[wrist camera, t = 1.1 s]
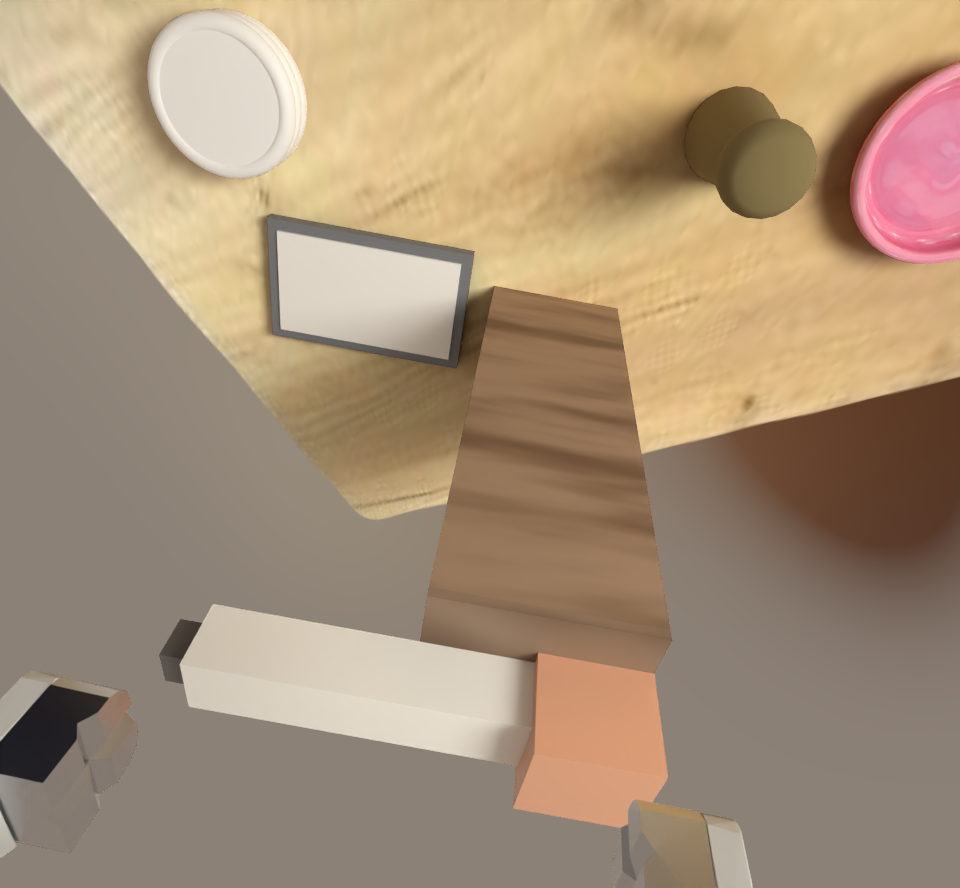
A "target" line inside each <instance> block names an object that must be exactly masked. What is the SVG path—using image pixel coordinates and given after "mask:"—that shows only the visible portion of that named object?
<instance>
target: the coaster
mask: <svg viewBox="0 0 960 888" xmlns="http://www.w3.org/2000/svg"><path fill="white" fill-rule="evenodd" d="M147 82H148V90H149V95H150V99H151V103H152V106H153V108H154V111H155V114H156V116H157V118H158V120H159V122H160V125H161V126H162V128H163V130H164V131H165V133H166V135H167V136H168V137H169V139H170V140H171V141H172V143H173V144H174V145H175V146H176V147H177V148H178V149H179V151H180V152H181V153H182V154H184V155H185V156H186V157H187V158H188V159H189V160H190V161H192V162H193V163H195V164H196V165H197V166H199V167H201V168H202V169H204V170H206V171H208V172H210V173H213V174H215V175H219V176H222V177H226V178H233V179H246V178H253V177H257V176H260V175H263V174H265V173H267V172H269V171H270V170H272V169H273V168H275V167H276V166H278V165H279V164H281V163H282V162H284V161H285V160H286V159H287V158H289V157H290V156H291V154H292V153H293V152H294V151H295V150H296V148H297V146H298V145H299V143H300V141H301V138H302V136H303V133H304V129H305V125H306V117H307V100H306V92H305V88H304V84H303V80H302V77H301V75H300V72H299V69H298V67H297V65H296V63H295V61H294V59H293V57H292V56H291V54H290V53H289V51H288V50H287V48H286V47H285V46H284V44H283V43H282V42H281V40H280V39H279V38H278V37H277V36H276V35H275V34H274V33H273V32H272V31H271V30H269V29H268V28H267V27H266V26H264V25H263V24H262V23H260V22H259V21H257V20H256V19H254V18H252V17H250V16H248V15H246V14H244V13H240V12H237V11H234V10H228V9H212V10H200V11H193V12H189V13H185V14H182V15H180V16H178V17H176V18H174V19H173V20H172V21H170V22H169V23H168V24H167V25H166V26H165V27H164V28H163V29H162V30H161V31H160V33H159V34H158V36H157V37H156V39H155V41H154V43H153V45H152V48H151V51H150V54H149V58H148V66H147Z"/></svg>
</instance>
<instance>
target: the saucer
mask: <svg viewBox="0 0 960 888" xmlns="http://www.w3.org/2000/svg"><path fill="white" fill-rule="evenodd" d="M850 204H851V210H852V214H853V218H854V220H855V223H856V225H857V227H858V229H859V230H860V232H861V233H862V235H863V236H864V237H865V238H866V240H867V241H868V242H869V243H870V244H871V245H872V246H873V247H875V248H876V249H877V250H879V251H880V252H882V253H884V254H885V255H887V256H889V257H892V258H894V259H897V260H900V261H904V262H910V263H920V264H931V263H941V262H947V261H952V260H956V259H960V62H957V63H954V64H951V65H949V66H947V67H944V68H942V69H940V70H938V71H936V72H935V73H933V74H931V75H929V76H928V77H926V78H924V79H923V80H921V81H920V82H918V83H917V84H915V85H914V86H913V87H911V88H910V89H909V90H908V91H906V92H905V93H904V94H903V95H902V96H900V97H899V98H898V99H897V100H896V101H895V102H894V103H893V104H892V105H891V106H890V107H889V108H888V109H887V110H886V112H885V113H884V114H883V115H882V116H881V118H880V119H879V120H878V122H877V123H876V124H875V126H874V127H873V129H872V130H871V132H870V133H869V135H868V136H867V138H866V140H865V142H864V144H863V146H862V148H861V150H860V152H859V154H858V157H857V160H856V163H855V166H854V169H853V173H852V177H851V184H850Z"/></svg>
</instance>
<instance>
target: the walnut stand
mask: <svg viewBox="0 0 960 888" xmlns="http://www.w3.org/2000/svg"><path fill="white" fill-rule="evenodd" d="M671 641H672V638H671V632H670V626H669V619H668V613H667V607H666V601H665V595H664V589H663V583H662V576H661V570H660V564H659V558H658V553H657V546H656V540H655V534H654V528H653V522H652V516H651V510H650V504H649V497H648V491H647V485H646V479H645V473H644V467H643V462H642V455H641V449H640V443H639V437H638V431H637V425H636V419H635V412H634V406H633V400H632V394H631V388H630V382H629V376H628V370H627V364H626V358H625V352H624V346H623V340H622V334H621V327H620V321H619V315H618V309H616V308H610V307H605V306H599V305H594V304H588V303H583V302H578V301H572V300H567V299H561V298H556V297H550V296H545V295H540V294H534V293H529V292H523V291H518V290H512V289H507V288H502V287H496V286H495V287H494V291H493V296H492V301H491V305H490V310H489V314H488V319H487V324H486V328H485V333H484V337H483V342H482V346H481V351H480V356H479V360H478V365H477V369H476V374H475V379H474V383H473V388H472V392H471V397H470V401H469V406H468V411H467V415H466V420H465V424H464V429H463V433H462V438H461V443H460V447H459V452H458V456H457V461H456V466H455V470H454V475H453V479H452V484H451V488H450V493H449V498H448V502H447V507H446V511H445V516H444V521H443V525H442V530H441V534H440V539H439V543H438V548H437V553H436V557H435V562H434V566H433V571H432V575H431V580H430V585H429V589H428V594H427V600H426V606H425V613H424V619H423V626H422V633H421V639H420V642H425V643H431V644H436V645H442V646H447V647H453V648H458V649H464V650H469V651H475V652H480V653H486V654H491V655H497V656H502V657H508V658H513V659H519V660H524V661H530V662H535V660H536V657H537V654H538V653H543V654H548V655H554V656H559V657H565V658H570V659H576V660H581V661H587V662H592V663H598V664H603V665H609V666H614V667H620V668H626V669H631V670H637V671H642V672H648V673H653V674H655V672H656V670H657V668H658V666H659V664H660V662H661V660H662V659H663V657H664V655H665V653H666V651H667V649H668V647H669V645H670V643H671Z"/></svg>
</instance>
